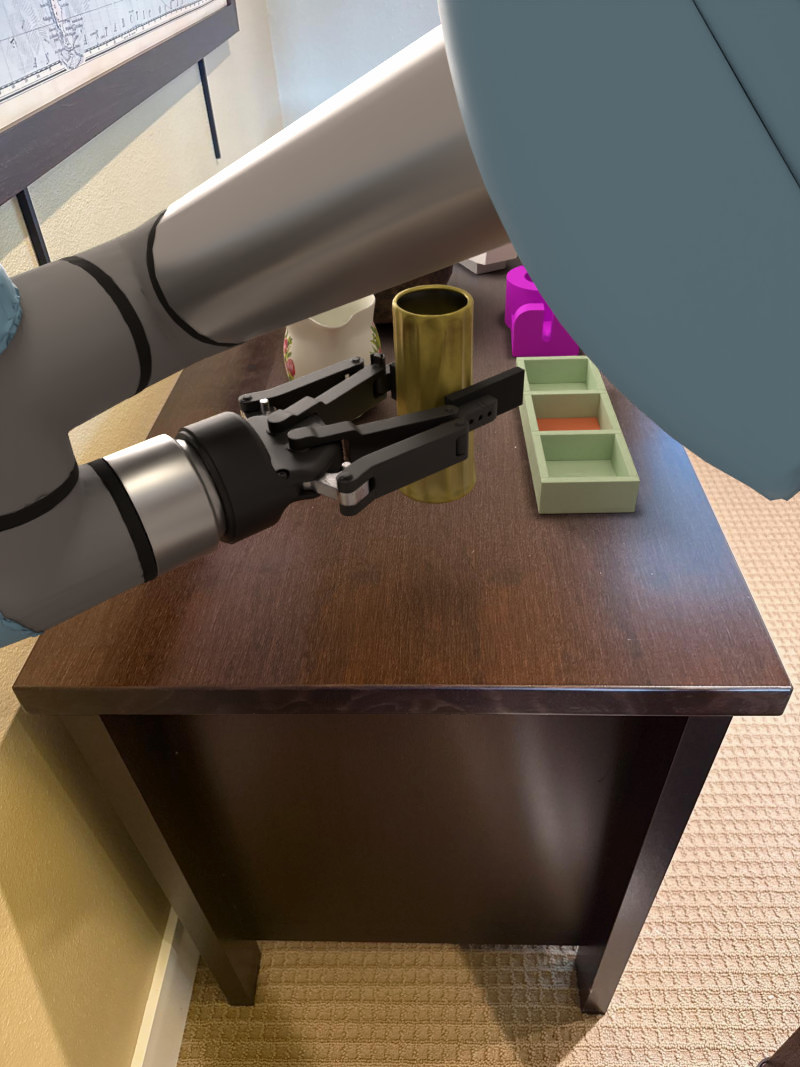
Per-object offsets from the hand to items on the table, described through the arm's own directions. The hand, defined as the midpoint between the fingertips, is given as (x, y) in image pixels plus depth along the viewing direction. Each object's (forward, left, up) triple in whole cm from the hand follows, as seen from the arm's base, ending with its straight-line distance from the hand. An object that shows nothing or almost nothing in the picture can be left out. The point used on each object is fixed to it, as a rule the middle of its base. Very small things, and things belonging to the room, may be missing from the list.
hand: (490, 370), depth 56 cm
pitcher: (+33, -6, -20) cm, 39 cm away
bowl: (+51, -25, -20) cm, 60 cm away
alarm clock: (+58, -49, -20) cm, 78 cm away
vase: (0, +5, -8) cm, 9 cm away
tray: (+10, -21, -20) cm, 30 cm away
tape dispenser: (+32, -39, -20) cm, 54 cm away
